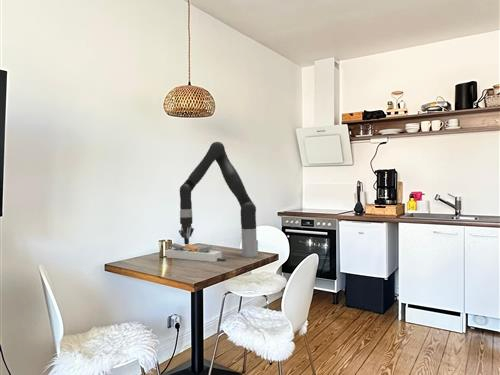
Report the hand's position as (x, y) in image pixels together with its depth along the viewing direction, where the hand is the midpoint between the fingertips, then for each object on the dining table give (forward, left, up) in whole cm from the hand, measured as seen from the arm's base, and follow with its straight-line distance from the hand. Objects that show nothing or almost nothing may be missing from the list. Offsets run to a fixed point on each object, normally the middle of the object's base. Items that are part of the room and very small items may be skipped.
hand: (186, 244), depth 224 cm
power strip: (-6, 0, -8) cm, 10 cm away
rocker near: (-14, 0, -3) cm, 14 cm away
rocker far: (+8, 0, -3) cm, 8 cm away
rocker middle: (-3, 0, -3) cm, 4 cm away
